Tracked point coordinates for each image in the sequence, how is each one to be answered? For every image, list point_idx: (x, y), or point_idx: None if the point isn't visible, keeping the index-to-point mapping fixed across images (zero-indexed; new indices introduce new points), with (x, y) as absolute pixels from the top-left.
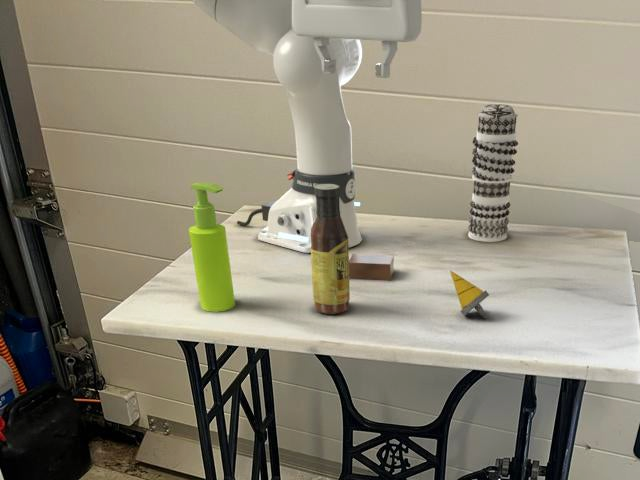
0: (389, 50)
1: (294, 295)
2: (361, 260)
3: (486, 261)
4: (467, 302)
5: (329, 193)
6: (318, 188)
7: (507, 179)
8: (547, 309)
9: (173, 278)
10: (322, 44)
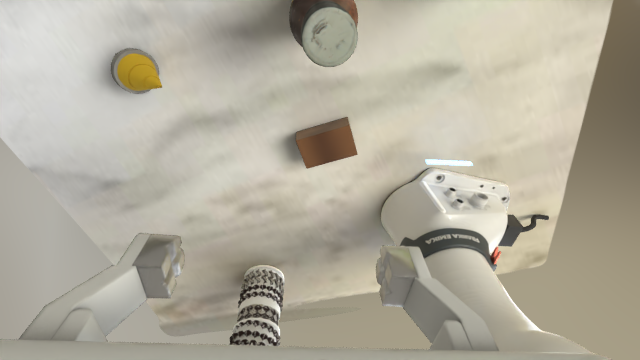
0: (48, 309)
1: (390, 29)
2: (336, 138)
3: (228, 221)
4: (132, 55)
5: (311, 12)
6: (338, 8)
7: (234, 329)
8: (87, 124)
9: (592, 11)
10: (443, 331)
